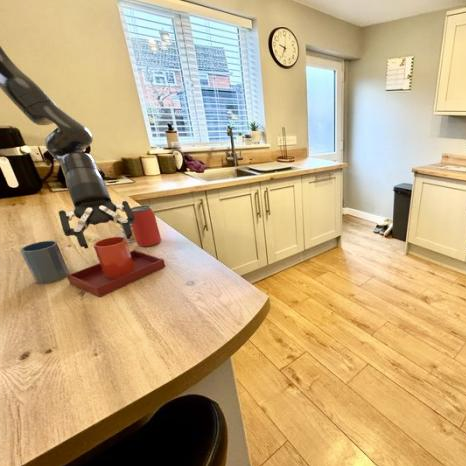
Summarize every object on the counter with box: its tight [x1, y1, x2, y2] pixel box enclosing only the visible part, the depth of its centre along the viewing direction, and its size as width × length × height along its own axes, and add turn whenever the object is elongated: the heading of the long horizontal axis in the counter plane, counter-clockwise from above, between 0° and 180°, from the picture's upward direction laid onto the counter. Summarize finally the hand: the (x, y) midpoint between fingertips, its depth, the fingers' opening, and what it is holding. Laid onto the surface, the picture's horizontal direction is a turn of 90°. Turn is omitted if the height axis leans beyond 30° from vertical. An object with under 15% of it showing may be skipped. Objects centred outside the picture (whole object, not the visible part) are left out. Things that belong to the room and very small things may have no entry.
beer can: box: [130, 205, 162, 247], centre depth 92 cm, size 7×7×12 cm
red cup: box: [93, 236, 135, 279], centre depth 74 cm, size 6×6×9 cm
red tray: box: [66, 249, 166, 298], centre depth 76 cm, size 16×13×2 cm
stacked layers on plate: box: [116, 224, 137, 244], centre depth 98 cm, size 10×9×6 cm
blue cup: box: [20, 240, 71, 285], centre depth 73 cm, size 6×6×9 cm
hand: (108, 242), depth 73 cm, fingers open, 8 cm apart
